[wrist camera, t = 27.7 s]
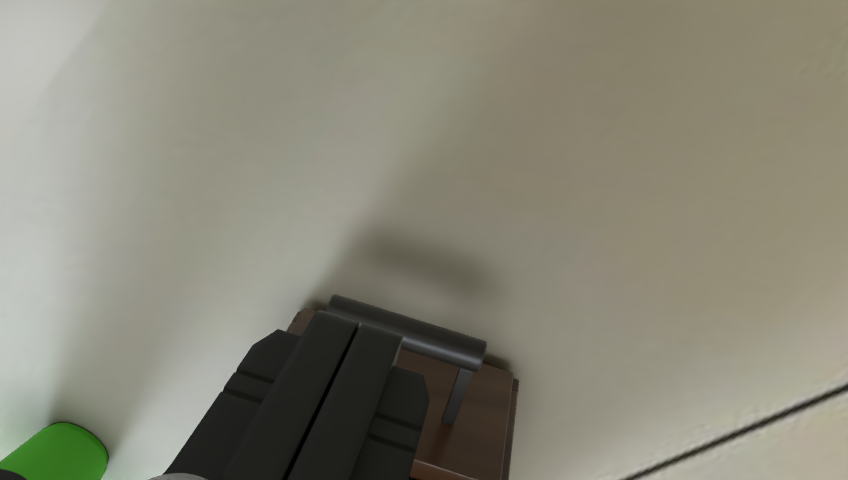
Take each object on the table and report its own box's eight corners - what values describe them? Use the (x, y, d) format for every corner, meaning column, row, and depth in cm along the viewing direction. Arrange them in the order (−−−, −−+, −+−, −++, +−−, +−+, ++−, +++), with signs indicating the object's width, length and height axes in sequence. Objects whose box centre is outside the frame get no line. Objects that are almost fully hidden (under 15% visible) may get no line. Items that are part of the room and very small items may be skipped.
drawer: (317, 230, 32) (253, 318, 25) (543, 300, 31) (536, 407, 25) (279, 470, 41) (226, 577, 35) (451, 526, 40) (429, 646, 34)
